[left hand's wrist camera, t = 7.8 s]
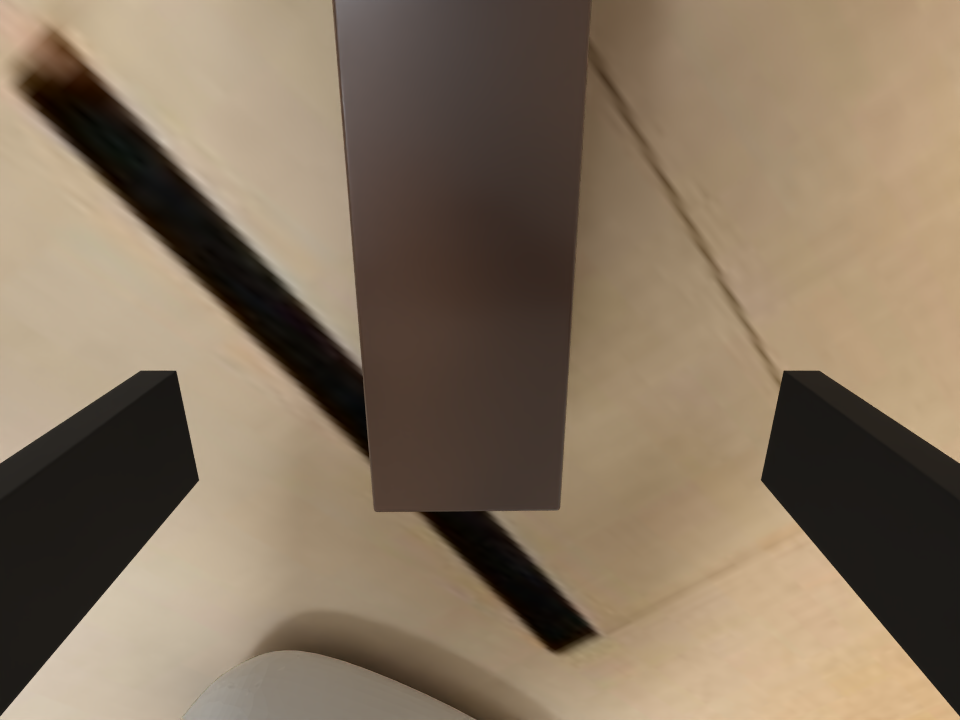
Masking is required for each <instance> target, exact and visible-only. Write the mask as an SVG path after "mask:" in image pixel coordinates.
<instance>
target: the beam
mask: <svg viewBox="0 0 960 720" xmlns="http://www.w3.org/2000/svg"><path fill="white" fill-rule="evenodd" d="M591 2H592V0H332V4H333V16H334V28H335V40H336V53H337V65H338V77H339V89H340V101H341V114H342V126H343V138H344V150H345V163H346V175H347V187H348V199H349V211H350V224H351V236H352V248H353V260H354V273H355V285H356V297H357V309H358V322H359V334H360V346H361V358H362V370H363V383H364V395H365V407H366V419H367V432H368V444H369V456H370V468H371V480H372V493H373V505H374V510H375V511H376V512H423V511H537V510H559V508H560V502H561V486H562V469H563V453H564V437H565V421H566V405H567V389H568V373H569V357H570V340H571V324H572V308H573V292H574V276H575V260H576V244H577V227H578V211H579V195H580V179H581V163H582V147H583V131H584V115H585V98H586V82H587V66H588V50H589V34H590V18H591Z"/></svg>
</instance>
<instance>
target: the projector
mask: <svg viewBox="0 0 960 720" xmlns="http://www.w3.org/2000/svg"><path fill="white" fill-rule="evenodd" d="M181 720H476V719H474V718H472V717H470V716H468V715H467V714H465V713H463V712H461V711H459V710H457V709H455V708H453V707H451V706H449V705H447V704H445V703H443V702H441V701H439V700H437V699H435V698H433V697H431V696H429V695H427V694H425V693H422V692H420V691H418V690H416V689H413V688H411V687H409V686H407V685H404V684H402V683H400V682H397V681H395V680H393V679H390V678H388V677H385V676H383V675H380V674H378V673H375V672H373V671H370V670H368V669H365V668H362V667H360V666H357V665H354V664H351V663H348V662H345V661H342V660H339V659H335V658H332V657H328V656H324V655H321V654H316V653H310V652H304V651H297V650H283V651H274V652H269V653H265V654H262V655H258V656H256V657H253V658H251V659H249V660H247V661H245V662H243V663H241V664H239V665H237V666H236V667H234V668H232V669H230V670H229V671H227V672H226V673H224V674H223V675H222V676H220V677H219V678H218V679H217V680H215V681H214V682H213V683H212V684H211V685H210V686H209V687H208V688H207V689H206V690H205V691H204V692H203V693H202V694H201V695H200V697H199V698H198V699H197V700H196V701H195V702H194V703H193V705H192V706H191V707H190V708H189V710H188V711H187V712H186V713H185V714H184V716H183V717H182V718H181Z"/></svg>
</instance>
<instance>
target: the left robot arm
mask: <svg viewBox="0 0 960 720" xmlns="http://www.w3.org/2000/svg"><path fill="white" fill-rule="evenodd" d="M198 481H199V478H198V473H197V468H196V463H195V459H194V454H193V449H192V444H191V439H190V435H189V430H188V425H187V420H186V415H185V411H184V406H183V401H182V396H181V391H180V387H179V382H178V377H177V372H176V371H140V372H138V373H137V374H135V375H134V376H132V377H131V378H129V379H128V380H126V381H125V382H123V383H122V384H120V385H118V386H117V387H115V388H114V389H112V390H111V391H109V392H108V393H106V394H105V395H103V396H102V397H100V398H99V399H97V400H96V401H94V402H93V403H91V404H90V405H88V406H87V407H85V408H84V409H82V410H81V411H79V412H78V413H76V414H75V415H73V416H72V417H70V418H69V419H67V420H65V421H64V422H62V423H61V424H59V425H58V426H56V427H55V428H53V429H52V430H50V431H49V432H47V433H46V434H44V435H43V436H41V437H40V438H38V439H37V440H35V441H34V442H32V443H31V444H29V445H28V446H26V447H25V448H23V449H22V450H20V451H19V452H17V453H16V454H14V455H13V456H11V457H9V458H8V459H6V460H5V461H3V462H2V463H0V716H1V715H2V714H3V712H4V711H5V710H6V709H7V708H8V706H9V705H10V704H11V703H12V702H13V701H14V699H15V698H16V697H17V696H18V695H19V693H20V692H21V691H22V690H23V689H24V687H25V686H26V685H27V684H28V683H29V682H30V680H31V679H32V678H33V677H34V676H35V674H36V673H37V672H38V671H39V670H40V668H41V667H42V666H43V665H44V664H45V663H46V661H47V660H48V659H49V658H50V657H51V655H52V654H53V653H54V652H55V651H56V649H57V648H58V647H59V646H60V645H61V644H62V642H63V641H64V640H65V639H66V638H67V636H68V635H69V634H70V633H71V632H72V630H73V629H74V628H75V627H76V626H77V625H78V623H79V622H80V621H81V620H82V619H83V617H84V616H85V615H86V614H87V613H88V611H89V610H90V609H91V608H92V607H93V606H94V604H95V603H96V602H97V601H98V600H99V598H100V597H101V596H102V595H103V594H104V593H105V591H106V590H107V589H108V588H109V587H110V585H111V584H112V583H113V582H114V581H115V579H116V578H117V577H118V576H119V575H120V574H121V572H122V571H123V570H124V569H125V568H126V566H127V565H128V564H129V563H130V562H131V560H132V559H133V558H134V557H135V556H136V555H137V553H138V552H139V551H140V550H141V549H142V547H143V546H144V545H145V544H146V543H147V541H148V540H149V539H150V538H151V537H152V536H153V534H154V533H155V532H156V531H157V530H158V528H159V527H160V526H161V525H162V524H163V522H164V521H165V520H166V519H167V518H168V517H169V515H170V514H171V513H172V512H173V511H174V509H175V508H176V507H177V506H178V505H179V503H180V502H181V501H182V500H183V499H184V498H185V496H186V495H187V494H188V493H189V492H190V490H191V489H192V488H193V487H194V486H195V484H196V483H197V482H198ZM761 481H762V482H763V483H764V484H765V486H766V487H767V488H768V489H769V490H770V492H771V493H772V494H773V495H774V496H775V498H776V499H777V500H778V501H779V502H780V503H781V505H782V506H783V507H784V508H785V509H786V511H787V512H788V513H789V514H790V515H791V517H792V518H793V519H794V520H795V521H796V522H797V524H798V525H799V526H800V527H801V528H802V530H803V531H804V532H805V533H806V534H807V536H808V537H809V538H810V539H811V540H812V541H813V543H814V544H815V545H816V546H817V547H818V549H819V550H820V551H821V552H822V553H823V555H824V556H825V557H826V558H827V559H828V560H829V562H830V563H831V564H832V565H833V566H834V568H835V569H836V570H837V571H838V572H839V574H840V575H841V576H842V577H843V578H844V579H845V581H846V582H847V583H848V584H849V585H850V587H851V588H852V589H853V590H854V591H855V593H856V594H857V595H858V596H859V597H860V598H861V600H862V601H863V602H864V603H865V604H866V606H867V607H868V608H869V609H870V610H871V611H872V613H873V614H874V615H875V616H876V617H877V619H878V620H879V621H880V622H881V623H882V625H883V626H884V627H885V628H886V629H887V630H888V632H889V633H890V634H891V635H892V636H893V638H894V639H895V640H896V641H897V642H898V644H899V645H900V646H901V647H902V648H903V649H904V651H905V652H906V653H907V654H908V655H909V657H910V658H911V659H912V660H913V661H914V663H915V664H916V665H917V666H918V667H919V668H920V670H921V671H922V672H923V673H924V674H925V676H926V677H927V678H928V679H929V680H930V682H931V683H932V684H933V685H934V686H935V687H936V689H937V690H938V691H939V692H940V693H941V695H942V696H943V697H944V698H945V699H946V701H947V702H948V703H949V704H950V705H951V706H952V708H953V709H954V710H955V711H956V712H957V714H958V715H959V716H960V463H958V462H957V461H955V460H954V459H952V458H951V457H949V456H947V455H946V454H944V453H943V452H941V451H940V450H938V449H937V448H935V447H934V446H932V445H931V444H929V443H928V442H926V441H925V440H923V439H922V438H920V437H919V436H917V435H916V434H914V433H913V432H911V431H910V430H908V429H907V428H905V427H904V426H902V425H901V424H899V423H898V422H896V421H894V420H893V419H891V418H890V417H888V416H887V415H885V414H884V413H882V412H881V411H879V410H878V409H876V408H875V407H873V406H872V405H870V404H869V403H867V402H866V401H864V400H863V399H861V398H860V397H858V396H857V395H855V394H854V393H852V392H851V391H849V390H848V389H846V388H845V387H843V386H842V385H840V384H838V383H837V382H835V381H834V380H832V379H831V378H829V377H828V376H826V375H825V374H823V373H822V372H820V371H784V372H783V377H782V382H781V387H780V391H779V396H778V401H777V406H776V411H775V415H774V420H773V425H772V430H771V435H770V439H769V444H768V449H767V454H766V459H765V463H764V468H763V473H762V478H761Z"/></svg>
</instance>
